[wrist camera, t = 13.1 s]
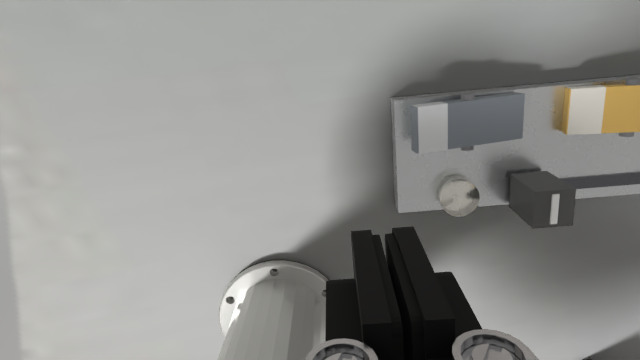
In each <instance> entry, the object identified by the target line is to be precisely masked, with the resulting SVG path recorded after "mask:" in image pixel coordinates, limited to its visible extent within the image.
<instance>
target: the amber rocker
mask: <svg viewBox="0 0 640 360" xmlns="http://www.w3.org/2000/svg"><path fill="white" fill-rule="evenodd" d="M562 132H563V133H564V134H566V135H577V134H601V133H619V136H621V137H633V136H634V132H640V78H630V79H626V81H625V84H614V85H593V86H577V87H565V96H564V108H563V119H562Z"/></svg>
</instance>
